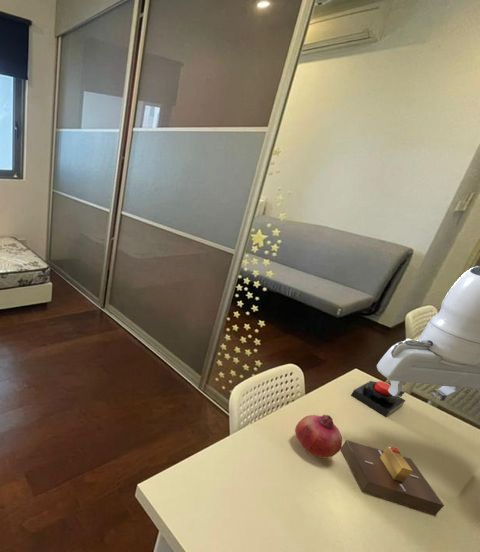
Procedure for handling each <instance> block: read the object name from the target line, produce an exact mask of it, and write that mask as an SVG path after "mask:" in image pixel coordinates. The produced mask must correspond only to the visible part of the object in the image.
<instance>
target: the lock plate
mask: <svg viewBox="0 0 480 552" xmlns="http://www.w3.org/2000/svg"><path fill="white" fill-rule="evenodd" d="M340 451H341V453H342V455H343V457H344V459H345V461H346V463H347V465H348V467H349V469H350V471H351V473H352V475H353V477H354V479H355V481H356V483H357V485H358V488H359V489H360V490H361V492H362V493H365V494H368V495H371V496H374V497H377V498H380V499H384V500H386V501H388V502H389V501H390V502H393V503H396V504H399V505H401V506H405V507H408V508H411V509H414V510H418V511H421V512H424V513H427V514H430V515H433V516H436V515H437V514H438V513H440V511H441V510H442V509H443V508H444V507H445V504H444V503H443V501H441V499H440V498H439V496H438V495H437V494H436V492H435V490H434V489H433V488H432V486H431V485H430V484H429V482H428V481H427V479H426V478H425V477H424V475H423V474H422V473H421V470H420V469H419V468H418V467H417V466H416V464H415V463H414V461H413V460H412V458H409V457H406V456H403V458H404V459H405V461H406V462H407V463H408V465H409V466H410V468H411V469H412V472H411V473H410V474H409V476H408V477H407V478H406V479H405V481H404V482H400V481H397V480H394V479H393V478H392V476H391V474H390V473H389V471H388V470H387V468H386V466H385V465H384V463H383V462H382V460H381V458H380V457H381V455H382V454H383V453H384V451H385V450H383V449H380V448H376V447H373V446H369V445H366V444H362V443H358V442H355V441H352V440H348V439H346V440H345V441H344V442H343V443H342V447H341V449H340Z"/></svg>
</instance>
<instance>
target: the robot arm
mask: <svg viewBox="0 0 480 552" xmlns="http://www.w3.org/2000/svg"><path fill="white" fill-rule="evenodd" d="M376 369H377V371H378V372H379V373H380V375H382V376H383V377H385V379H387V380H389V382H390V383H389V384H390V388H389V389H388V392H389V393H390V394H391V395H392V396H397V397H401V398H402V397H403V395H404V394H405V393H406V390H404V388H403V386H405V385H406V384H407V383H411V384H422V385H432V386H440V387H439V388H437V389H436V388H435V389H433V391H432V392H431V394H430V396H431V397H432V398H433V399H435V401H437V402H438V401H439V402H446V401H447V400H449V397H452V396H453V395H455V394H457V393H459V392H461V390H463V389H473V390H480V265H476V266H475V265H474V266H473V267H470V268H468V269H467V270H466V271H465V272H463V273H462V275H461V276H459V278H458V279H457V280H456V281H455V282H454V284H453V285H452V286H451V287H450V288H449V290H448V291H447V293H446V294H445V296H444V298H443V299H442V301H441V305H440V309H439V311H438V312H437V313H436V314H435V315H434V316H432V317H431V318H430V319H429V321H428V323H427V325H426V326H425V328H424V329H423V331H422V332H421V334H420V335H419V337H418V339H413V338H406V339H404V340H403V341H402V340H401V341H398V342H396V343H395V344H393V345H392V346H391V347H390V348H389V349H388V350H387V351H386V352H385V353H384V355H383V356H382V357H381V358H380V359H379V361H378V363H377V364H376Z"/></svg>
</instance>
